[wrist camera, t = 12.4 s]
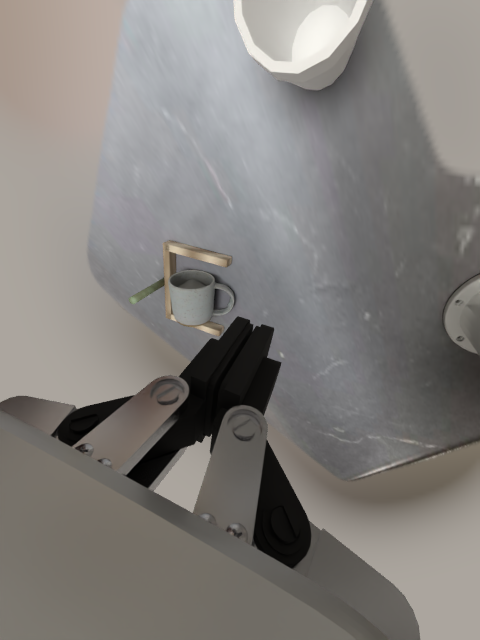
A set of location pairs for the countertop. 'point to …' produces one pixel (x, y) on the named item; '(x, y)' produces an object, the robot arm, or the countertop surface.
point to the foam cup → (301, 37)
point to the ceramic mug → (195, 297)
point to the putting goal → (170, 268)
